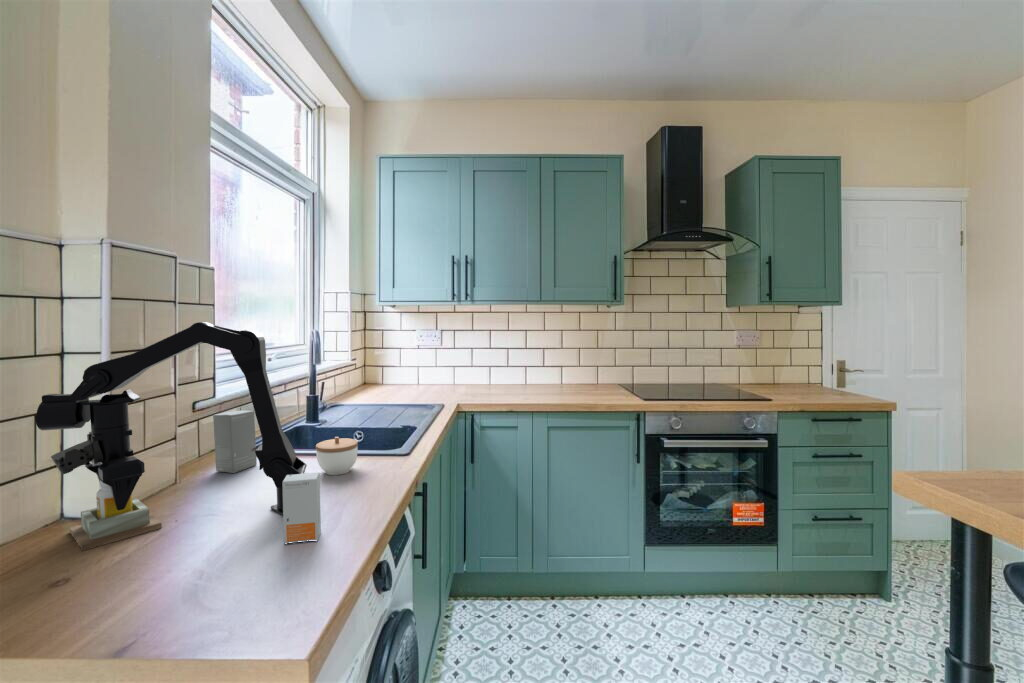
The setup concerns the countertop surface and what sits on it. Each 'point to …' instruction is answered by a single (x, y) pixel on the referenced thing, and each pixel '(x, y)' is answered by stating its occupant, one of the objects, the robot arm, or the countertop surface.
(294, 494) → the skincare box
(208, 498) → the countertop surface
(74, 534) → the socket board
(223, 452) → the skincare box
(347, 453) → the lidded jar
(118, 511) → the supplement bottle
